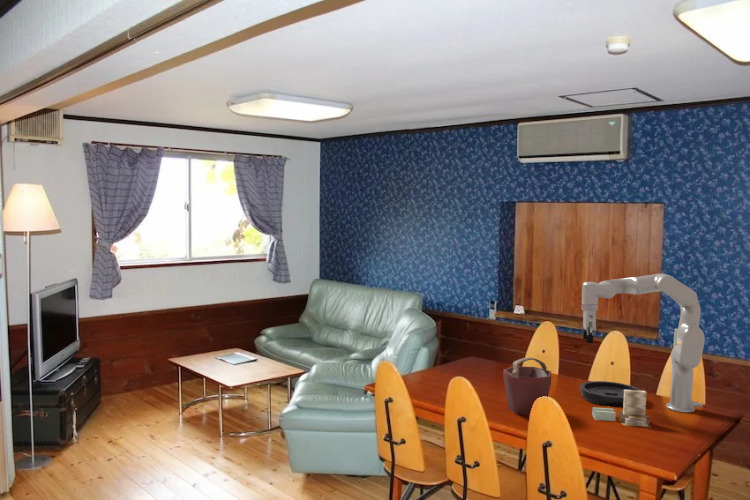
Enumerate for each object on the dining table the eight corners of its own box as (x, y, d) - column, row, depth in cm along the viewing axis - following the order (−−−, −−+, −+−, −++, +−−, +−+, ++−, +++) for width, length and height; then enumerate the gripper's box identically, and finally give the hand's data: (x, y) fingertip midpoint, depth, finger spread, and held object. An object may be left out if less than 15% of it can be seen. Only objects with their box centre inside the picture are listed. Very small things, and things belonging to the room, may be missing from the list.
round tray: (583, 406, 308) (648, 411, 302) (584, 394, 308) (649, 399, 302) (576, 389, 338) (635, 393, 332) (577, 378, 337) (636, 382, 331)
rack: (645, 422, 286) (646, 412, 286) (651, 429, 276) (651, 419, 276) (618, 420, 288) (618, 410, 288) (622, 427, 278) (623, 417, 278)
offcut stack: (645, 424, 280) (646, 416, 280) (647, 426, 277) (648, 419, 277) (624, 422, 281) (625, 415, 281) (626, 425, 278) (626, 417, 278)
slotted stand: (612, 417, 291) (612, 408, 291) (615, 423, 284) (616, 413, 283) (591, 416, 293) (592, 406, 293) (594, 421, 285) (595, 412, 285)
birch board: (643, 421, 284) (645, 390, 283) (644, 423, 282) (646, 392, 281) (622, 419, 286) (624, 389, 285) (623, 421, 283) (625, 391, 282)
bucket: (518, 420, 285) (520, 366, 283) (491, 405, 305) (492, 355, 304) (561, 414, 295) (563, 361, 293) (532, 400, 315) (534, 351, 313)
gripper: (600, 310, 302) (598, 345, 303) (594, 304, 319) (593, 338, 320) (584, 309, 303) (582, 344, 304) (579, 304, 320) (577, 337, 321)
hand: (588, 341), depth 312 cm, fingers open, 9 cm apart
